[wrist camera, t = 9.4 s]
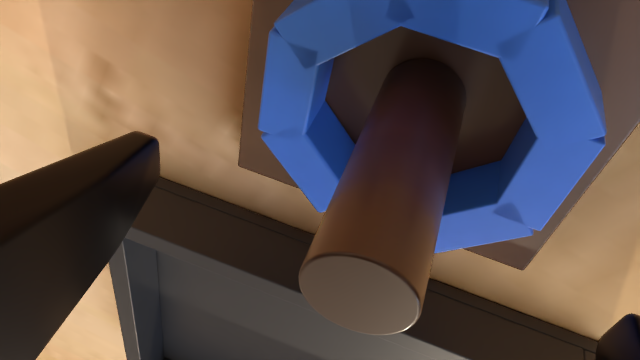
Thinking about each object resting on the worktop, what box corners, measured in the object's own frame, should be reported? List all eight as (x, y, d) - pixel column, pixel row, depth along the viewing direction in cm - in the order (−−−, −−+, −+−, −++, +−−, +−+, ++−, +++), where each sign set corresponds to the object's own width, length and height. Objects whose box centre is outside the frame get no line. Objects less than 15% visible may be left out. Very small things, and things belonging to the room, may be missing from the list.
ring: (665, 6, 10) (681, 46, 8) (504, 239, 15) (501, 284, 13) (310, -102, 10) (280, -79, 9) (271, 155, 15) (249, 190, 14)
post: (744, -56, 10) (961, 209, 5) (524, 242, 16) (513, 492, 11) (289, -187, 11) (48, -88, 5) (252, 143, 17) (124, 331, 12)
